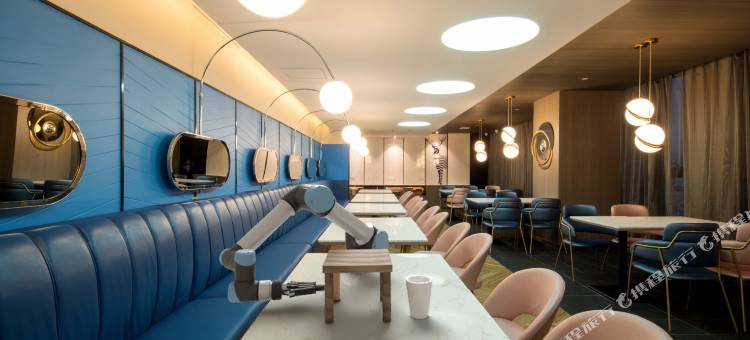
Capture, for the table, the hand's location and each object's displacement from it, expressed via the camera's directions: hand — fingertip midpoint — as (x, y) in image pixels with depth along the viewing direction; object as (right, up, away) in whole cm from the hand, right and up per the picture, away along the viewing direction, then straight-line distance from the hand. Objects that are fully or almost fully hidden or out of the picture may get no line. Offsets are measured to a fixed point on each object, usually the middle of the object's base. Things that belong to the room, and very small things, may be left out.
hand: (332, 286), depth 143 cm
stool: (+11, -6, -8) cm, 15 cm away
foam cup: (+33, -6, -13) cm, 36 cm away
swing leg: (+1, -6, -7) cm, 9 cm away
